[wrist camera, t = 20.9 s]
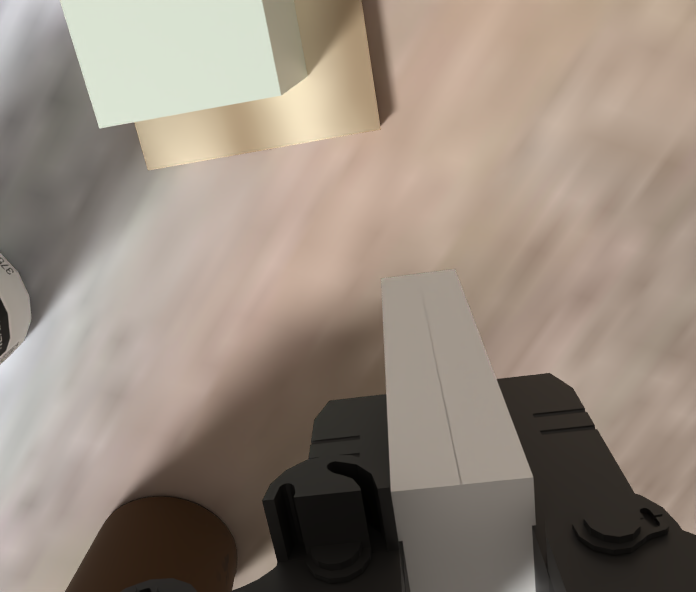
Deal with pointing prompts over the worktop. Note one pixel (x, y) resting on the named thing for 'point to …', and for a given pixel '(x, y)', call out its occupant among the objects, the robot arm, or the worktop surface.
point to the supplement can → (12, 309)
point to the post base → (283, 98)
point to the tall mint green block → (182, 54)
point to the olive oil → (159, 548)
